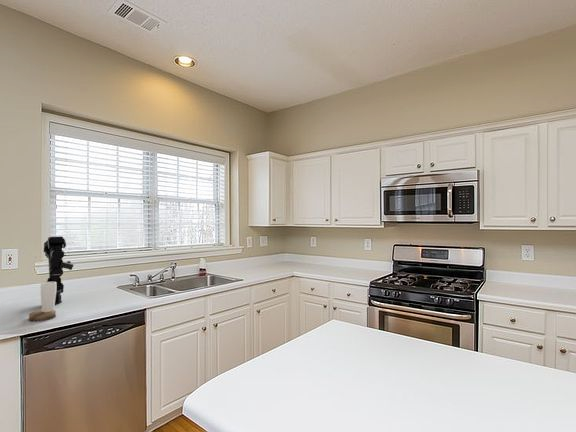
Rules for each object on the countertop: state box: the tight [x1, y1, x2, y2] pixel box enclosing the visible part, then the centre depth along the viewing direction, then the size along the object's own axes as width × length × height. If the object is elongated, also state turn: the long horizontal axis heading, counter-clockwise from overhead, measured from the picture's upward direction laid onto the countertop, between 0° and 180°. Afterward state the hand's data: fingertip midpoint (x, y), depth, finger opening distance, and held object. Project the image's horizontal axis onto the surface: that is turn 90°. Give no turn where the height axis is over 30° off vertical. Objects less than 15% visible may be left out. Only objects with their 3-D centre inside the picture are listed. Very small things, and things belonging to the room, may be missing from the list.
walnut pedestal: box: [28, 309, 57, 323], centre depth 169 cm, size 11×11×3 cm
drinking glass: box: [40, 281, 57, 313], centre depth 170 cm, size 7×7×15 cm
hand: (55, 285), depth 188 cm, fingers open, 9 cm apart
